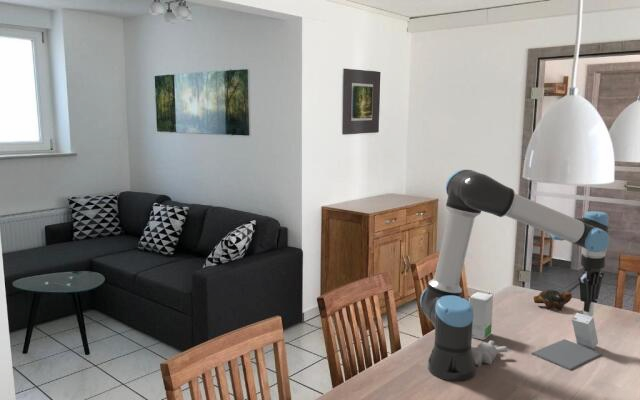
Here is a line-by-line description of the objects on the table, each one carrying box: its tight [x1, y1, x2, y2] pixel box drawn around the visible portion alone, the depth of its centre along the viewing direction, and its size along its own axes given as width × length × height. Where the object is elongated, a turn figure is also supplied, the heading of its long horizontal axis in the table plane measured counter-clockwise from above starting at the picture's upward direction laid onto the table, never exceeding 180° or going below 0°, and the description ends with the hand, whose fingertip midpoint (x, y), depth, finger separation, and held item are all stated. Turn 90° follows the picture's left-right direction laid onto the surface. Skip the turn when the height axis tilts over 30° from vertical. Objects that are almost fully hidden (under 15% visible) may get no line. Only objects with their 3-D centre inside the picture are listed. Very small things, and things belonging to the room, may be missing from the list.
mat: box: [531, 338, 603, 371], centre depth 186 cm, size 20×14×1 cm
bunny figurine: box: [471, 339, 509, 367], centre depth 182 cm, size 10×5×15 cm
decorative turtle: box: [532, 289, 573, 312], centre depth 230 cm, size 10×15×8 cm, turn 77°
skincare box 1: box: [469, 291, 494, 341], centre depth 201 cm, size 8×7×16 cm
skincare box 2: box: [571, 312, 599, 350], centre depth 191 cm, size 6×4×12 cm
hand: (587, 319), depth 191 cm, fingers closed
